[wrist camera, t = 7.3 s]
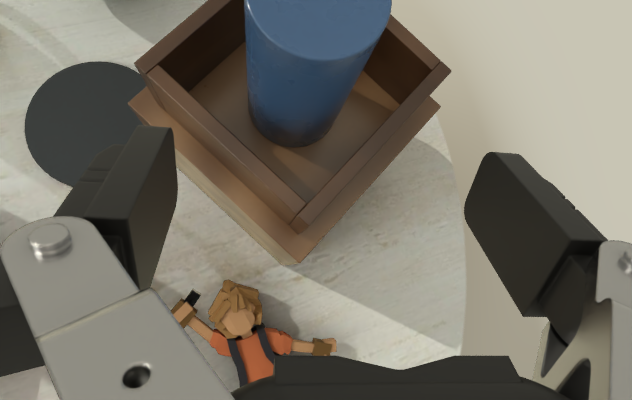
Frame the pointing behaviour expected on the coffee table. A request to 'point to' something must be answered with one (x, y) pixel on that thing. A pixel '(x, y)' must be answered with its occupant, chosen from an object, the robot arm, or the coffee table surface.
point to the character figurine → (244, 331)
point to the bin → (266, 156)
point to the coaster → (81, 117)
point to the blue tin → (306, 62)
